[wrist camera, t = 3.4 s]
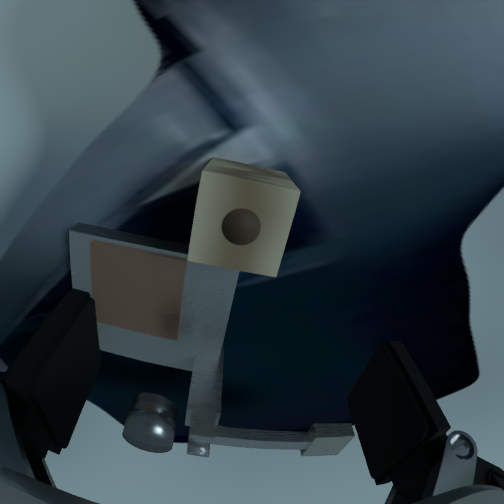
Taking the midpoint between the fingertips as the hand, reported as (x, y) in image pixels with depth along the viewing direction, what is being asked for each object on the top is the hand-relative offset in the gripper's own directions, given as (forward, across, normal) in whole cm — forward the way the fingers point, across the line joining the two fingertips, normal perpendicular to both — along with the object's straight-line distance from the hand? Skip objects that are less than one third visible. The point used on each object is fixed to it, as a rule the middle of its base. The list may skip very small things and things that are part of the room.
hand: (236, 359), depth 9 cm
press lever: (+9, -4, +17) cm, 20 cm away
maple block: (+18, 0, -1) cm, 18 cm away
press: (+18, +7, +11) cm, 22 cm away
